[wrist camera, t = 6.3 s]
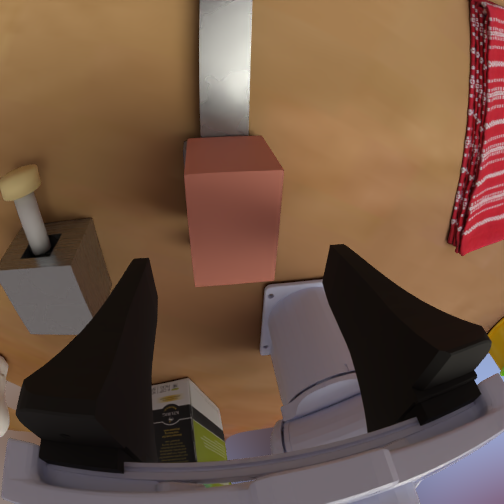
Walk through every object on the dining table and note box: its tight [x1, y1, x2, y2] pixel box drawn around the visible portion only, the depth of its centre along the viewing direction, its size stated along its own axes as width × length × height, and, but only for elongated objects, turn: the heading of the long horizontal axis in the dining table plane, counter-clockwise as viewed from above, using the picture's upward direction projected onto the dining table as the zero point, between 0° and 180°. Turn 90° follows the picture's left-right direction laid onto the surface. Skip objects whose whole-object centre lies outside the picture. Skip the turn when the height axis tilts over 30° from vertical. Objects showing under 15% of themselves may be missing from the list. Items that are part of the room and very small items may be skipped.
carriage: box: [183, 136, 284, 287], centre depth 16 cm, size 6×4×6 cm
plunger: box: [0, 164, 51, 255], centre depth 15 cm, size 5×3×3 cm, turn 178°
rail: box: [199, 0, 252, 138], centre depth 16 cm, size 18×3×3 cm, turn 178°
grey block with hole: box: [0, 218, 112, 335], centre depth 19 cm, size 6×6×5 cm
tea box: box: [152, 378, 232, 488], centre depth 30 cm, size 15×10×15 cm, turn 106°
